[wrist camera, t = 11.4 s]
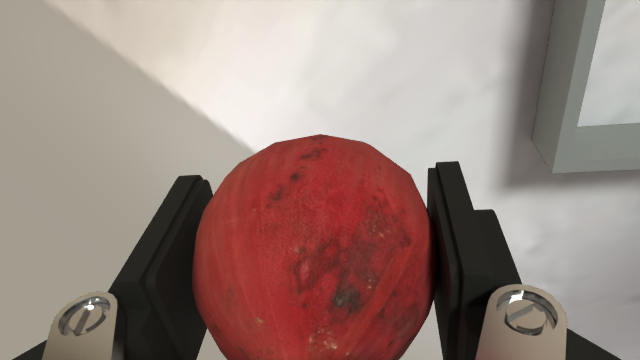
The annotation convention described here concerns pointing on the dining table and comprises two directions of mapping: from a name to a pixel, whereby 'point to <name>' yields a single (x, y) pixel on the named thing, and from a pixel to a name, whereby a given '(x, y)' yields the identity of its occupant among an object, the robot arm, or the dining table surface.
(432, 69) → the dining table surface
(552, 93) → the grey bin
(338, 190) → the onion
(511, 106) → the dining table surface
